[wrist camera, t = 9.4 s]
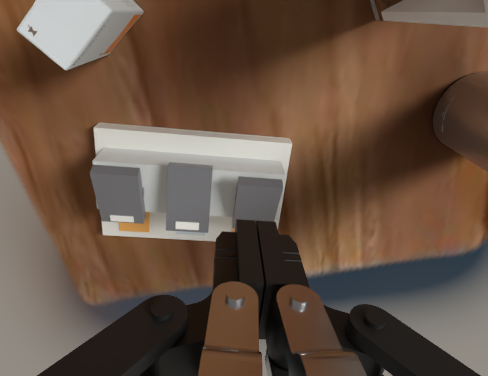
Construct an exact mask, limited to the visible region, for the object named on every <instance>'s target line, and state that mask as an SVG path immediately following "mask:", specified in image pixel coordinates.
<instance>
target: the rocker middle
mask: <svg viewBox="0 0 488 376" xmlns="http://www.w3.org/2000/svg"><path fill="white" fill-rule="evenodd" d="M212 171H213V165H200V164H187V163H174V162H169V164H168V176H167V207H166V230H167V231H184V232H201V233H208V229H209V215H210V200H211V185H212Z"/></svg>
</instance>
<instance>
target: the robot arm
mask: <svg viewBox="0 0 488 376" xmlns="http://www.w3.org/2000/svg"><path fill="white" fill-rule="evenodd" d="M433 128H434V132H435V134H436V136H437V138H438V139H439V140H440V142H441V143H442V144H444V145H446V146H447V147H449V148H450V149H452V150H454V151H455V152H457V153H458V154H460V155H462V156H463V157H465V158H466V159H468V160H469V161H471V162H473V163H474V164H476V165H478V166H479V167H481V168H482V169H484V170H486V171H487V172H488V72H478V73H473V74H470V75H467V76H465V77H463V78H461V79H459V80H458V81H456V82H455V83H454V84H452V85H451V86H450V87H449V88H448V89H447V90H446V91H445V92H444V94H443V95H442V97H441V98H440V100H439V101H438V103H437V106H436V108H435V111H434V116H433ZM259 339H266V344H267V350H266V355H265V365H266V370H267V375H268V376H384V375H382V374H383V372H384V369H385V370H387V371H388V372H389V373H391V374H392V375H393V376H480V375H479V374H477V373H475V372H474V371H473V370H471V369H470V368H468V367H467V366H465V365H464V364H463V363H461V362H460V361H458V360H457V359H455V358H454V357H452V356H451V355H449V354H448V353H446V352H445V351H443V350H442V349H441V348H439V347H438V346H436V345H435V344H433V343H432V342H430V341H429V340H427V339H426V338H424V337H423V336H421V335H420V334H418V333H417V332H415V331H414V330H412V329H411V328H410V327H408V326H407V325H405V324H404V323H402V322H401V321H399V320H398V319H396V318H395V317H394V316H392V315H391V314H389V313H388V312H386V311H385V310H383V309H381V308H379V307H376V306H373V305H368V304H363V305H357V306H355V307H354V308H353V309H352V310H351V312H350V314H348V313H345V312H342V311H338V310H335V309H332V308H329V307H327V306H325V305H323V304H322V301H321V299H320V297H319V296H318V294H316V293H315V292H314V291H313V290H311V289H310V288H309V284H308V281H307V278H306V274H305V271H304V268H303V264H302V262H301V258H300V255H299V251H298V248H297V245H296V243H295V242H294V241H293V240H292V239H291V237H290V236H289V235H279V234H278V230H277V226H276V222H275V221H259V220H256V222H255V220H241V219H236V223H235V232H224V231H222V232H221V233H220V235H219V236H218V237H217V238H216V246H215V258H214V271H213V291H212V293H211V294H210V296H208V297H207V298H206V299H204V300H203V301H201V302H198V303H194V304H190V305H185V304H184V303H183V301H181V300H180V299H178V298H177V297H174V296H170V295H158V296H154V297H151V298H149V299H147V300H145V301H144V302H142V303H141V304H139V305H138V306H137V307H135V308H134V309H132V310H131V311H129V312H128V313H127V314H125V315H124V316H122V317H121V318H119V319H118V320H116V321H115V322H114V323H112V324H111V325H109V326H108V327H106V328H105V329H103V330H102V331H101V332H99V333H98V334H96V335H95V336H94V337H92V338H91V339H89V340H88V341H86V342H85V343H83V344H82V345H80V346H79V347H78V348H76V349H75V350H73V351H72V352H70V353H69V354H68V355H66V356H65V357H63V358H62V359H61V360H59V361H57V362H56V363H55V364H53V365H52V366H50V367H49V368H48V369H46V370H45V371H43V372H42V373H40V374H39V375H37V376H262V354H261V352H259Z"/></svg>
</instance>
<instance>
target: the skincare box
mask: <svg viewBox="0 0 488 376" xmlns="http://www.w3.org/2000/svg"><path fill="white" fill-rule="evenodd" d="M143 13H144V11H143V10H142V9H141V8H140V7H139V6H138V5H137V4H136V3H135V2H134V1H133V0H35V2H34V4H33V6H32V7H31V9H30V10H29V12H28V13H27V15H26V16H25V18H24V19H23V20H22V22H21V23H20V25H19V26H18V28H17V32H19V33H20V34H21V35H22V36H24V37H25V38H26V39H27V40H29V41H30V42H31V43H32V44H34V45H35V46H36V47H37V48H38V49H40V50H41V51H42V52H43V53H45V54H46V55H47V56H48V57H49V58H51V59H52V60H53V61H54V62H55V63H57V64H58V65H59V66H60V67H62V68H63V69H64V70H69V69H72V68H74V67H77V66H80V65H82V64H85V63H88V62H91V61H93V60H96V59H98V58H101V57H104V56H107V55H109V54H110V53H111V52H112V51H113V49H114V48H115V47H116V45H117V44H118V43H119V42H120V40H121V39H122V38H123V37H124V35H125V34H126V33H127V32H128V30H129V29H130V28H131V27H132V26H133V25H134V23H135V22H136V21H137V20H138V19H139V18H140V16H141V15H142V14H143Z"/></svg>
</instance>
